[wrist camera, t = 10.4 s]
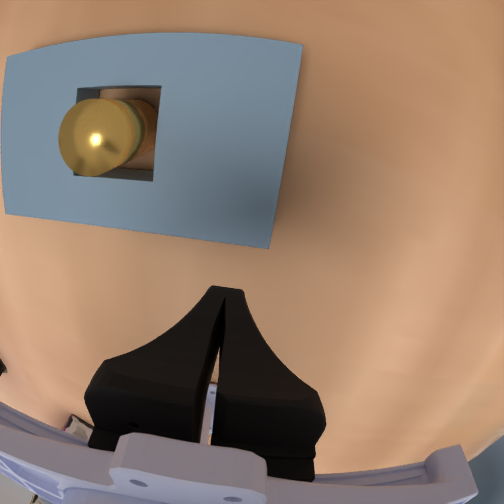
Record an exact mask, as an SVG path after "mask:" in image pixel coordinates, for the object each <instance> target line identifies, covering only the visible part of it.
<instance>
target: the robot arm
mask: <svg viewBox="0 0 504 504" xmlns="http://www.w3.org/2000/svg"><path fill="white" fill-rule="evenodd" d="M219 347H220V350H219ZM218 351H219V377H218V383H217V385H216V384H210V381H211V377H212V373H213V369H214V366H215V362H216V358H217V354H218ZM213 391H214V392H213ZM84 400H85V404H86V406H87V409H88V411H89V414H90V416H91V418H92V420H93V423H94V425H95V426H94V428H93V431H92V433H91V436H90V438H89V440H86V439H84V438H81V437H78V436H75V435H73V434H70V433H67V432H65V431H62V430H60V429H57V428H55V427H52V426H50V425H48V424H45V423H43V422H41V421H39V420H36V419H34V418H32V417H30V416H28V415H26V414H23V413H21V412H19V411H17V410H15V409H13V408H11V407H10V406H8V405H6V404H4V403H2V402H0V472H1V473H3V474H4V475H6V476H7V477H9V478H10V479H12V480H13V481H15V482H17V483H18V484H20V485H22V486H23V487H25V488H27V489H28V490H30V491H32V492H33V493H35V494H37V495H39V496H40V497H42V498H44V499H46V500H48V501H50V502H52V503H54V504H464V503H465V502H467V501H468V500H470V499H471V498H473V497H474V496H476V495H477V494H478V490H477V487H476V484H475V482H474V479H473V476H472V473H471V470H470V468H469V465H468V462H467V460H466V457H465V455H464V452H463V450H462V447H461V445H459V444H458V445H454V446H450V447H446V448H442V449H439V450H436V451H435V452H433V453H432V454H430V455H429V456H428V457H427V458H426V459H425V461H423V462H418V463H413V464H407V465H402V466H396V467H390V468H383V469H375V470H367V471H358V472H346V473H332V474H315V471H314V461H313V459H314V458H315V456H316V452H315V445H316V443H317V442H318V440H319V438H320V437H321V435H322V433H323V432H324V430H325V427H326V417H325V412H324V409H323V406H322V403H321V400H320V397H319V395H318V392H317V391H316V390H314V389H313V388H311V387H310V386H309V385H307V384H306V383H305V382H303V381H302V380H300V379H299V378H298V377H297V376H296V375H295V374H293V373H292V372H291V371H290V370H289V369H288V368H287V367H286V366H285V365H284V364H283V363H282V362H281V361H280V360H279V359H278V357H277V356H276V355H275V354H274V352H273V351H272V350H271V348H270V347H269V346H268V344H267V343H266V341H265V340H264V338H263V337H262V335H261V333H260V331H259V330H258V328H257V326H256V324H255V322H254V320H253V318H252V315H251V313H250V311H249V308H248V305H247V302H246V299H245V294H244V291H243V290H242V289H234V288H227V287H220V286H213V285H212V286H211V287H209V289H208V290H207V292H206V293H205V295H204V296H203V297H202V298H201V300H200V301H199V302H198V303H197V304H196V305H195V306H194V307H193V309H192V310H191V311H190V312H189V313H188V314H187V315H185V316H184V317H183V318H182V319H181V320H180V321H179V322H178V323H177V324H175V325H174V326H173V327H172V328H170V329H169V330H168V331H166V332H165V333H164V334H162V335H161V336H159V337H157V338H156V339H154V340H153V341H151V342H149V343H148V344H146V345H144V346H142V347H140V348H137V349H135V350H133V351H131V352H128V353H125V354H123V355H120V356H117V357H114V358H111V359H107V360H104V361H103V363H102V364H101V366H100V367H99V368H98V370H97V371H96V373H95V374H94V376H93V378H92V380H91V382H90V384H89V386H88V388H87V390H86V392H85V395H84ZM209 434H212V436H211V444H210V445H207V444H208V437H209Z"/></svg>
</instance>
